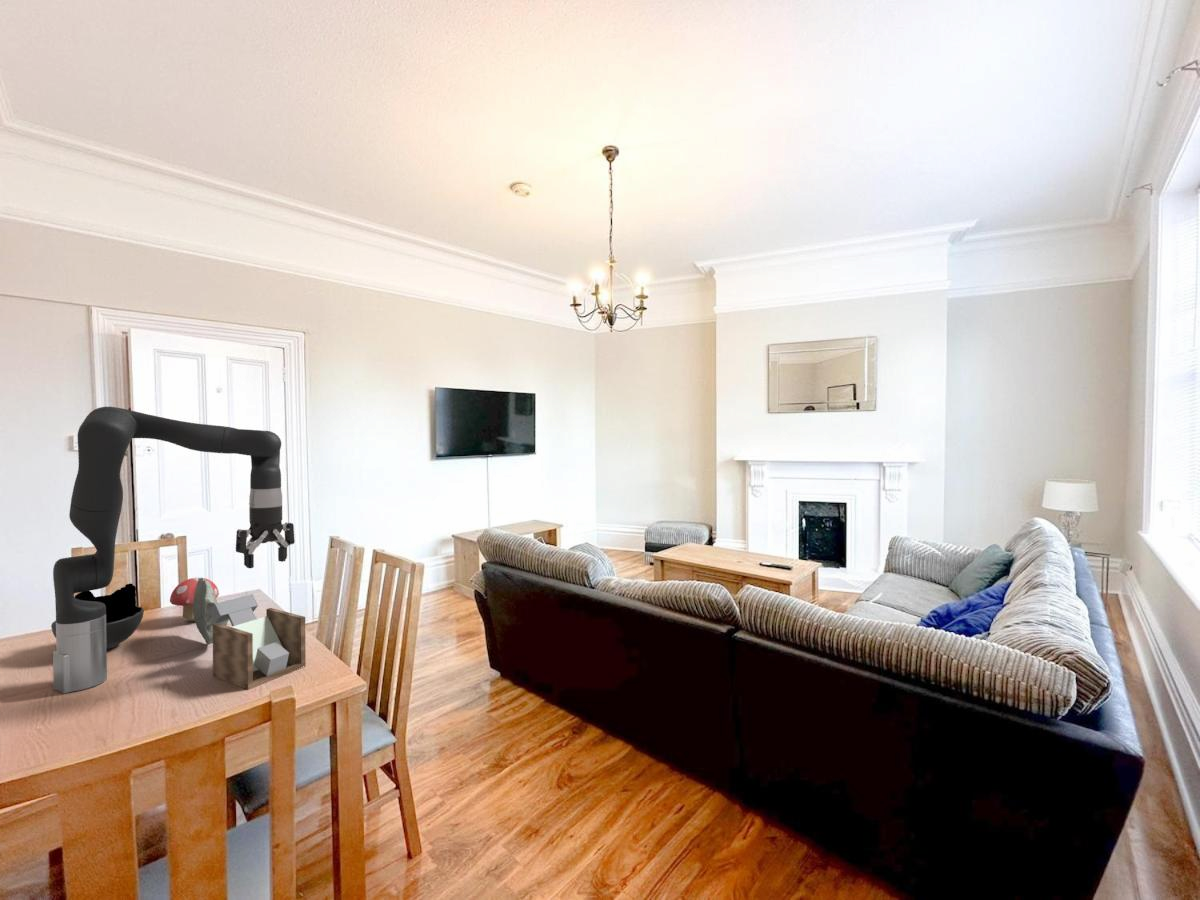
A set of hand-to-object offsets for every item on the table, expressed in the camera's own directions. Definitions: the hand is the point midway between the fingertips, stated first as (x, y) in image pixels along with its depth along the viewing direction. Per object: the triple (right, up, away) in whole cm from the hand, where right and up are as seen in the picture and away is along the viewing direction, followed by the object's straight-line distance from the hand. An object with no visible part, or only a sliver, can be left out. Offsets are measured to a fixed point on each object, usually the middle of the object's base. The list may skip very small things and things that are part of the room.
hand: (266, 564), depth 143 cm
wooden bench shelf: (-3, -30, +2) cm, 30 cm away
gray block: (-1, -24, +1) cm, 24 cm away
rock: (-30, -29, +19) cm, 46 cm away
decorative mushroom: (-49, -28, +39) cm, 69 cm away
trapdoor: (-10, -22, +5) cm, 25 cm away
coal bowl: (-59, -29, +15) cm, 68 cm away
